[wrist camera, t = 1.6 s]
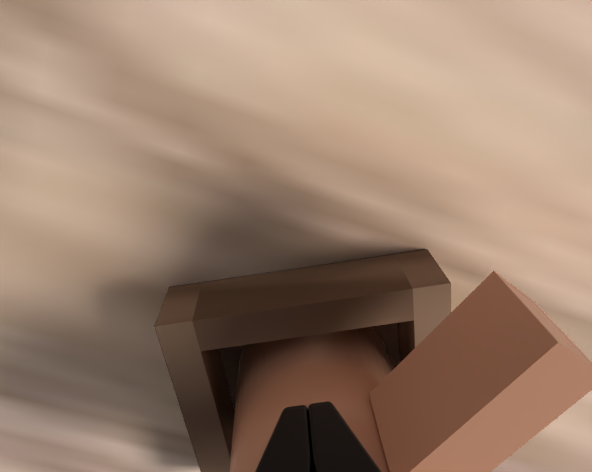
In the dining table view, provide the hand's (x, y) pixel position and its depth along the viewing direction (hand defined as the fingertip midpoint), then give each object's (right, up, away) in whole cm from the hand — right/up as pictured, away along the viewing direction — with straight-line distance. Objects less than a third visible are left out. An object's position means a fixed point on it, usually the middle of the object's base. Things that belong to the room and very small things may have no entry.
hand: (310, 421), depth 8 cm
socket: (0, -2, +11) cm, 11 cm away
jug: (+2, 0, +10) cm, 10 cm away
